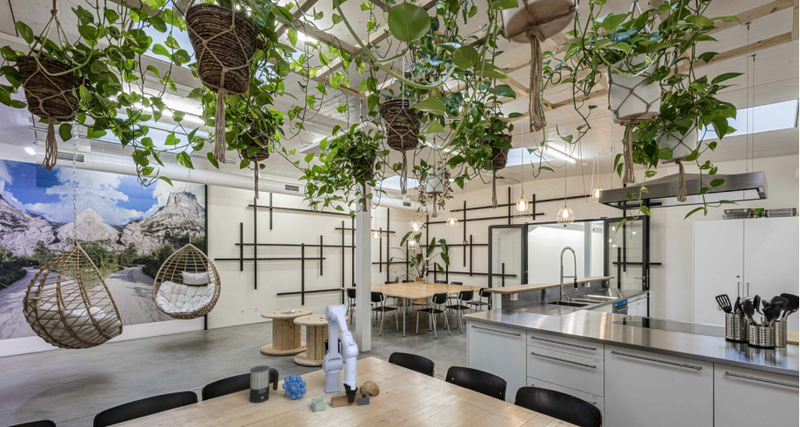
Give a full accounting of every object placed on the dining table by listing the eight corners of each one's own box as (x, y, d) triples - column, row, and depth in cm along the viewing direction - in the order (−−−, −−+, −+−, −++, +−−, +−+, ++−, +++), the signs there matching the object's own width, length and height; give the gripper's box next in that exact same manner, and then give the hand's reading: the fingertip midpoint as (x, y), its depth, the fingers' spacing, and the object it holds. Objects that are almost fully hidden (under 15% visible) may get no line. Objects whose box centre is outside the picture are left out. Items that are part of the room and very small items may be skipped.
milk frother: (256, 405, 176) (257, 372, 177) (236, 397, 185) (238, 366, 186) (281, 395, 188) (282, 364, 189) (261, 388, 197) (262, 359, 198)
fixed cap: (355, 400, 182) (355, 394, 182) (366, 399, 183) (366, 392, 184) (358, 405, 175) (358, 399, 176) (369, 404, 177) (369, 397, 177)
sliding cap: (311, 405, 175) (311, 398, 175) (323, 404, 177) (323, 397, 177) (312, 411, 169) (313, 404, 169) (325, 409, 170) (325, 402, 171)
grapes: (279, 403, 178) (280, 377, 179) (283, 397, 184) (283, 372, 186) (304, 402, 179) (305, 376, 180) (307, 397, 185) (307, 372, 187)
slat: (331, 405, 176) (331, 396, 177) (360, 401, 181) (360, 393, 181) (332, 408, 173) (332, 399, 173) (361, 404, 177) (362, 395, 178)
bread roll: (360, 404, 185) (361, 392, 183) (357, 388, 195) (358, 376, 192) (379, 402, 188) (381, 390, 185) (376, 387, 197) (377, 375, 195)
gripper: (339, 367, 184) (339, 395, 183) (344, 376, 171) (344, 407, 169) (353, 365, 187) (353, 394, 185) (359, 375, 173) (359, 405, 172)
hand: (350, 400), depth 177 cm, fingers open, 5 cm apart
